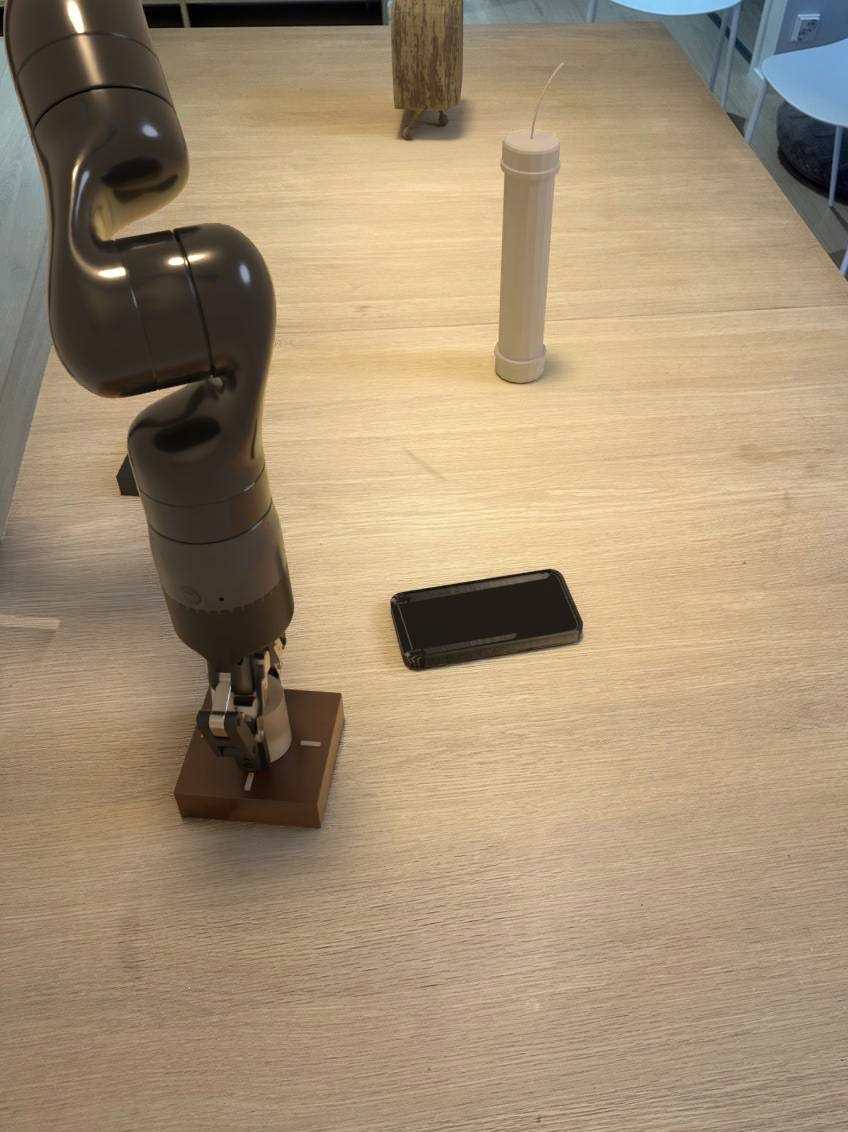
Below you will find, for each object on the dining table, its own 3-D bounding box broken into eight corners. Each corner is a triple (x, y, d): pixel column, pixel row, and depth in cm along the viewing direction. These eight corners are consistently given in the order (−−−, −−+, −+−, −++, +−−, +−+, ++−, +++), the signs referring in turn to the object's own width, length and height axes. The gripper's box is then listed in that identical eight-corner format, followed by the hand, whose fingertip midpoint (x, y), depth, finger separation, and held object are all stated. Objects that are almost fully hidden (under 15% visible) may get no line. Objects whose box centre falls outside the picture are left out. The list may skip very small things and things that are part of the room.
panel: (180, 817, 75) (172, 792, 72) (216, 707, 81) (209, 681, 79) (321, 828, 74) (316, 803, 72) (344, 717, 81) (341, 691, 79)
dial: (240, 712, 77) (228, 665, 73) (298, 720, 77) (290, 672, 73) (221, 761, 74) (208, 713, 70) (282, 769, 74) (272, 722, 70)
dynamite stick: (482, 368, 114) (490, 68, 91) (525, 348, 116) (542, 52, 94) (518, 391, 111) (534, 87, 89) (560, 369, 114) (586, 70, 92)
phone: (387, 594, 88) (559, 566, 91) (388, 603, 89) (558, 576, 92) (406, 662, 83) (587, 631, 86) (406, 672, 84) (586, 641, 87)
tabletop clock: (403, 104, 162) (398, -89, 143) (462, 106, 162) (464, -86, 143) (395, 144, 152) (387, -58, 134) (457, 146, 152) (458, -56, 134)
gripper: (259, 655, 58) (295, 826, 70) (306, 488, 67) (331, 665, 80) (124, 646, 58) (184, 818, 71) (190, 482, 68) (233, 659, 80)
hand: (262, 736), depth 75 cm, fingers closed on dial, 4 cm apart
